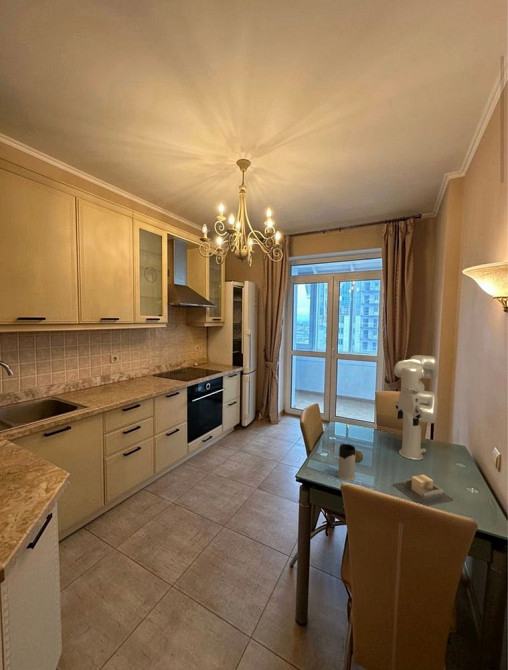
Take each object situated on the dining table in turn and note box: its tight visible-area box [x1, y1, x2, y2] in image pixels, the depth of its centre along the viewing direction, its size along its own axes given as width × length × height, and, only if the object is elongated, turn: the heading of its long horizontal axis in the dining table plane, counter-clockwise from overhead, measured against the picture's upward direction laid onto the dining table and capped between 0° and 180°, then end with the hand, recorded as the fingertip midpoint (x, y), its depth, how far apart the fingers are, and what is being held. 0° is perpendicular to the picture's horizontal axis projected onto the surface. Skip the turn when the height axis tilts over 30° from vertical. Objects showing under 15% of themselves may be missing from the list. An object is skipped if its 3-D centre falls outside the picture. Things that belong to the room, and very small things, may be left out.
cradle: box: [392, 478, 454, 507], centre depth 125 cm, size 18×16×4 cm
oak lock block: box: [411, 474, 434, 495], centre depth 125 cm, size 7×5×6 cm
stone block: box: [355, 449, 364, 463], centre depth 156 cm, size 6×12×5 cm, turn 47°
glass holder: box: [333, 442, 356, 482], centre depth 139 cm, size 9×14×15 cm, turn 24°
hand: (407, 422), depth 142 cm, fingers open, 9 cm apart
